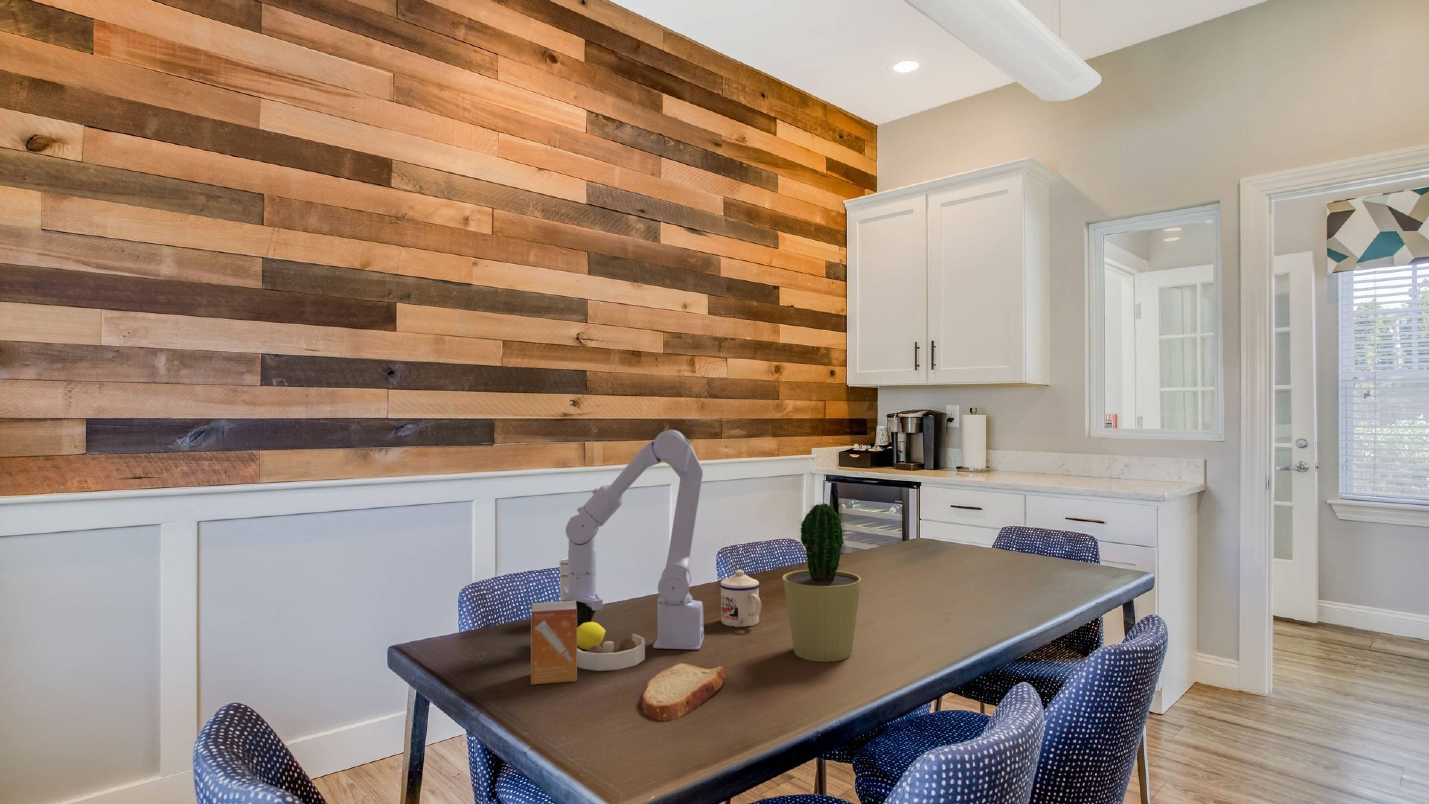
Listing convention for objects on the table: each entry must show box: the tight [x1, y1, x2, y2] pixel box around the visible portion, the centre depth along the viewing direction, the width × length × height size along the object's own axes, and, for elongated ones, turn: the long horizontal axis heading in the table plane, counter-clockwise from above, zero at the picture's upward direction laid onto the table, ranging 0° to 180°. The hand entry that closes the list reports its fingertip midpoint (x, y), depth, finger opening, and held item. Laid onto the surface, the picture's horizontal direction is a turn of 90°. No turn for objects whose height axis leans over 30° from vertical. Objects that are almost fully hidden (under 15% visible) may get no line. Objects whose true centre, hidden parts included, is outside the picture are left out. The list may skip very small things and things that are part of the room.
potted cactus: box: [782, 501, 862, 663], centre depth 146 cm, size 15×15×30 cm
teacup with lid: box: [719, 569, 762, 628], centre depth 166 cm, size 12×9×12 cm
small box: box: [530, 600, 578, 686], centre depth 133 cm, size 8×6×13 cm
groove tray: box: [577, 633, 646, 672], centre depth 143 cm, size 12×14×3 cm
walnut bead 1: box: [586, 645, 604, 653], centre depth 140 cm, size 3×3×3 cm
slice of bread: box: [640, 662, 728, 722], centre depth 124 cm, size 18×18×4 cm
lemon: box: [577, 621, 606, 651], centre depth 149 cm, size 7×5×5 cm
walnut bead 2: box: [618, 637, 636, 652], centre depth 144 cm, size 3×3×3 cm
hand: (582, 638), depth 152 cm, fingers closed
